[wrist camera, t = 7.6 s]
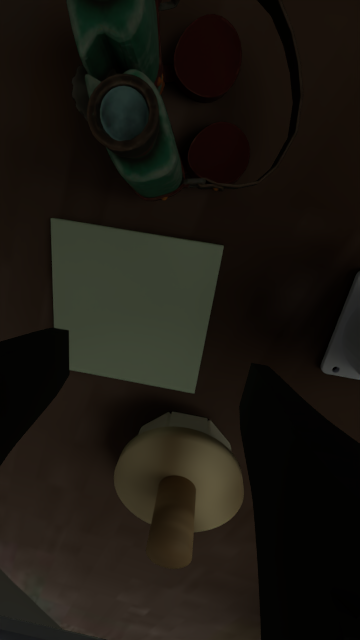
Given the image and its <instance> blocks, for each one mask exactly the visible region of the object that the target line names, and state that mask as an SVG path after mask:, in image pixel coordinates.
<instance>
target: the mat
mask: <svg viewBox="0 0 360 640" xmlns="http://www.w3.org/2000/svg"><path fill="white" fill-rule="evenodd" d="M51 245H52V277H53V309H54V328H59V329H64V330H69V370H73V371H79V372H84V373H89V374H94V375H100V376H105V377H110V378H115V379H121V380H126V381H131V382H136V383H141V384H147V385H152V386H157V387H162V388H168V389H173V390H178V391H183V392H189V393H195V388H196V383H197V378H198V373H199V368H200V363H201V358H202V353H203V348H204V343H205V338H206V333H207V328H208V323H209V318H210V313H211V308H212V303H213V298H214V293H215V288H216V283H217V278H218V273H219V268H220V263H221V258H222V253H223V248H224V245H218V244H212V243H206V242H200V241H194V240H188V239H181V238H175V237H169V236H163V235H157V234H151V233H144V232H138V231H132V230H126V229H120V228H114V227H108V226H101V225H95V224H89V223H83V222H77V221H71V220H64V219H58V218H51Z"/></svg>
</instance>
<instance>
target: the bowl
mask: <svg viewBox="0 0 360 640" xmlns="http://www.w3.org/2000/svg"><path fill="white" fill-rule="evenodd" d="M207 420H208V418H204V417H198V416H193V415H188V414H183V413H178V412H173V411H172V414H170V413H169V412H167V413H166V414H164V415H162V416H160V417H158V418H156V419H154V420H153V421H151V422H149V423H147V424H145V425H143V426H142V427H141V428H140V431H139V434H141V433H143V432H145V431H148V430H151V429H155V428H160V427H172V426H175V427H185V428H190V429H194V430H198V431H201V432H203V433H206V434H208V435H210V436H212V437H214V438H216V439H217V440H219V441H220V442H222V443H223V444H224V445H225V446H226V447H227V448H229V450H230V451H231V446H230V443H229V442H228V441H227V439H226V438H225V437H224V436H223V435H222V433H221V432H220V431H219V430H218V429H217V427H216V426H215V425H214V424H213V422H212V421H211V420H209V421H207ZM139 434H138V435H139Z"/></svg>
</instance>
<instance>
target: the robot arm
mask: <svg viewBox="0 0 360 640" xmlns="http://www.w3.org/2000/svg"><path fill="white" fill-rule="evenodd" d="M334 367H337V369H335V370H332V369H333V368H334ZM320 368H321V370H322V371H323V372H324V373H326V374H331V375H336V376H342V377H347V378H352V379H358V380H360V271H359V272H358V273H357V274H356V276H355V279H354V281H353V284H352V286H351V289H350V291H349V294H348V297H347V299H346V302H345V304H344V307H343V309H342V312H341V314H340V317H339V319H338V322H337V325H336V327H335V330H334V332H333V335H332V337H331V340H330V342H329V345H328V347H327V350H326V353H325V355H324V358H323V360H322V363H321V366H320ZM68 376H69V330H64V329H59V328H49V329H44V330H40V331H36V332H32V333H29V334H25V335H22V336H18V337H15V338H11V339H8V340H4V341H1V342H0V465H1V464H2V463H3V461H4V460H5V458H6V457H7V455H8V454H9V452H10V451H11V450H12V449H13V447H14V446H15V445H16V443H17V442H18V441H19V440H20V439H21V437H22V436H23V435H24V434H25V433H26V431H27V430H28V429H29V428H30V427H31V425H32V424H33V423H34V422H35V421H36V420H37V418H38V417H39V416H40V415H41V414H42V412H43V411H44V410H45V409H46V408H47V406H48V405H49V404H50V403H51V402H52V400H53V399H54V398H55V397H56V395H57V394H58V392H59V391H60V389H61V388H62V386H63V384H64V383H65V381H66V379H67V378H68ZM239 409H240V430H241V436H242V442H243V447H244V453H245V458H246V464H247V469H248V475H249V480H250V485H251V492H252V499H253V508H254V520H255V532H256V546H257V561H258V577H259V597H260V617H261V640H360V443H358V442H357V441H355V440H354V439H352V438H351V437H350V436H348V435H347V434H346V433H344V432H343V431H342V430H340V429H339V428H337V427H336V426H335V425H333V424H332V423H331V422H330V421H328V420H327V419H326V418H325V417H323V416H322V415H321V414H320V413H319V412H318V411H316V410H315V409H314V408H313V407H312V406H310V405H309V404H308V403H307V402H306V401H305V400H304V399H303V398H302V397H300V396H299V395H298V394H297V393H296V392H295V391H294V390H293V389H292V388H291V387H290V386H289V385H288V384H287V383H286V382H285V381H284V380H283V379H282V378H281V377H280V376H278V375H277V374H276V373H275V372H274V371H273V370H272V369H271V368H270V367H268V366H265V365H260V364H254V363H251V367H250V370H249V374H248V377H247V381H246V385H245V388H244V392H243V395H242V399H241V402H240V406H239ZM0 640H106V639H102V638H97V637H93V636H88V635H84V634H80V633H75V632H71V631H66V630H62V629H57V628H53V627H49V626H44V625H40V624H36V623H31V622H27V621H22V620H18V619H13V618H9V617H5V616H0Z"/></svg>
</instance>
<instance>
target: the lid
mask: <svg viewBox="0 0 360 640" xmlns="http://www.w3.org/2000/svg"><path fill="white" fill-rule="evenodd" d="M114 485H115V489H116V492H117V494H118V496H119V498H120V499H121V501H122V502H123V504H124V505H125V506H126V507H127V508H128V509H129V510H130V511H131V512H132V513H133V514H135V515H136V516H137V517H139V518H140V519H142V520H144V521H145V522H147V523H149V524H151V527H150V532H149V537H148V542H147V547H146V554H147V556H148V558H149V559H150V560H151V561H152V562H154V563H155V564H157V565H159V566H162V567H165V568H170V569H177V568H182V567H185V566H187V565H188V564H189V563H190V562H191V560H192V549H193V533H194V532H200V531H206V530H209V529H213V528H216V527H218V526H220V525H222V524H224V523H226V522H227V521H228V520H230V519H231V518H232V517H233V516H234V515H235V514H236V513H237V511H238V510H239V508H240V506H241V504H242V501H243V496H244V488H243V479H242V471H241V468H240V465H239V463H238V460H237V459H236V457H235V456H234V454H233V453H232V452H231V451H230V450H229V448H227V447H226V446H225V445H224V444H223V443H222V442H220V441H219V440H217V439H216V438H214V437H212V436H210V435H208V434H206V433H203V432H201V431H198V430H194V429H190V428H185V427H175V426H172V427H160V428H155V429H151V430H148V431H145V432H143V433H141V434H139V435H137V436H136V437H134V438H133V439H132V440H130V441H129V443H128V444H127V445H126V446H125V447H124V449H123V451H122V453H121V455H120V458H119V460H118V463H117V465H116V468H115V472H114Z"/></svg>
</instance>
